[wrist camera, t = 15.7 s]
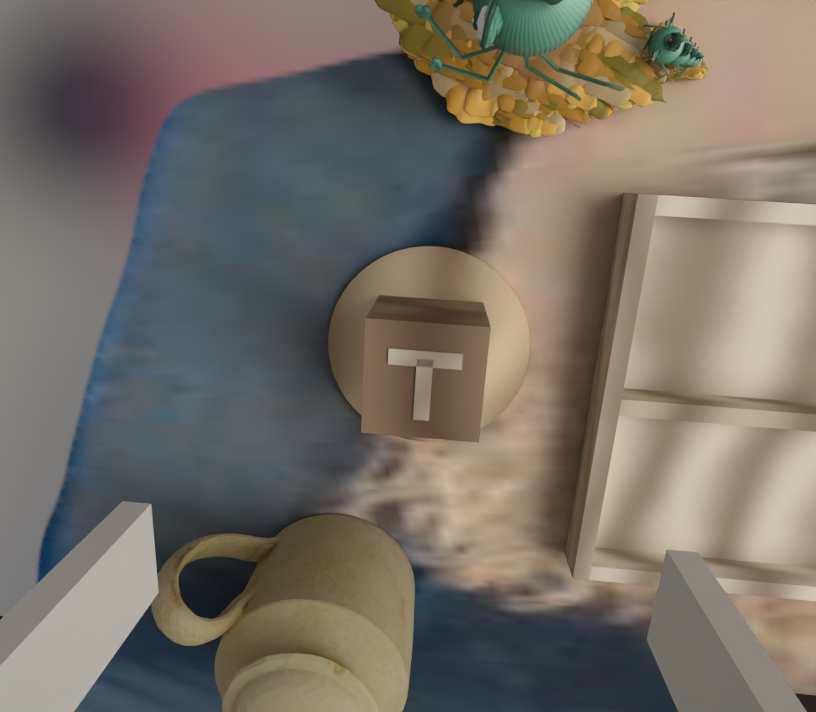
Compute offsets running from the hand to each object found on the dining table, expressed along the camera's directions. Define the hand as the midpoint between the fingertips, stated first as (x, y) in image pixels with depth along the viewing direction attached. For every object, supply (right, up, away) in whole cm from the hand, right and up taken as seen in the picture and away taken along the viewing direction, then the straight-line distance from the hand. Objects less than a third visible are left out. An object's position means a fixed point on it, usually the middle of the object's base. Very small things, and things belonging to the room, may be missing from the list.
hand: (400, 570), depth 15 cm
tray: (+22, +3, +19) cm, 29 cm away
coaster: (+1, +6, +20) cm, 21 cm away
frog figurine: (+6, +22, +15) cm, 27 cm away
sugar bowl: (-7, -10, +25) cm, 28 cm away
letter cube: (+1, +6, +19) cm, 20 cm away
